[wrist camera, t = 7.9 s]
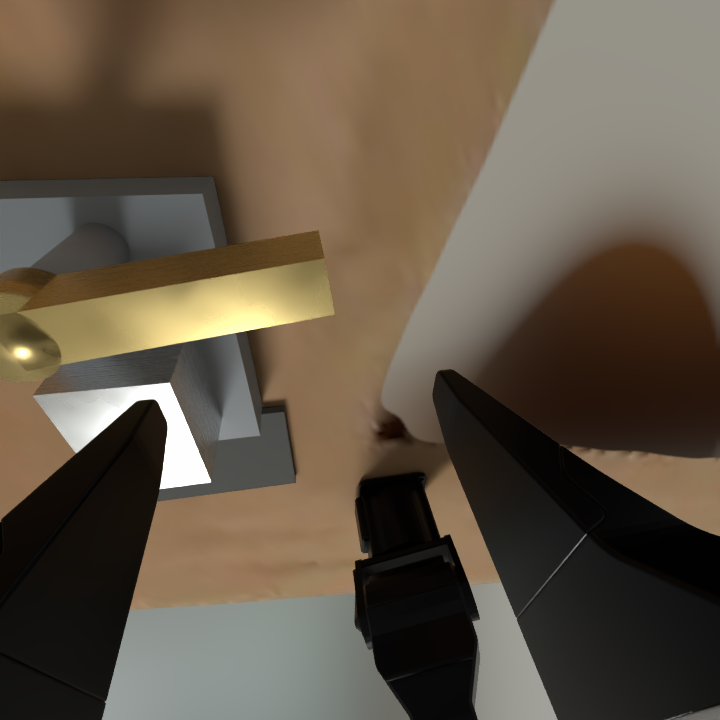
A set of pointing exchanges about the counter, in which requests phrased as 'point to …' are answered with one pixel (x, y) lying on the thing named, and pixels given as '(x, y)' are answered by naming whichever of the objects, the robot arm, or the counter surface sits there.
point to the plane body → (131, 254)
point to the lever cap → (141, 382)
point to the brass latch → (157, 302)
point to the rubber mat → (247, 461)
